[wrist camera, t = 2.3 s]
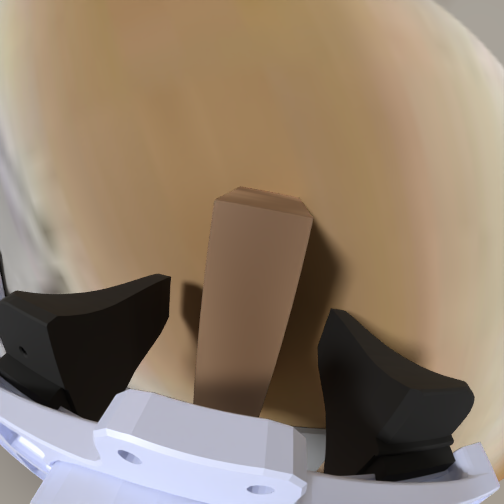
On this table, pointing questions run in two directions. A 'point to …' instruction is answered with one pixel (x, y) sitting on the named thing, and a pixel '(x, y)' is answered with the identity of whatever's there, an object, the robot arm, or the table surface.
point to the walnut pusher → (247, 296)
